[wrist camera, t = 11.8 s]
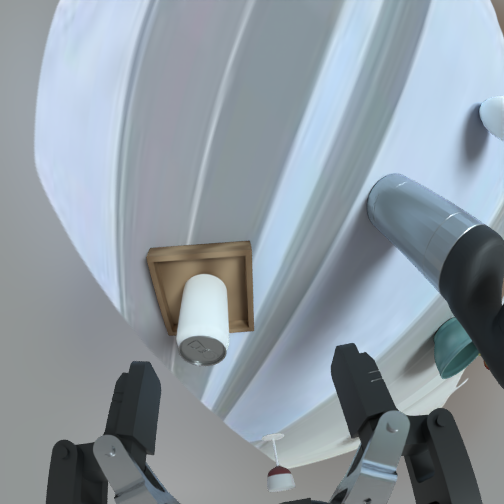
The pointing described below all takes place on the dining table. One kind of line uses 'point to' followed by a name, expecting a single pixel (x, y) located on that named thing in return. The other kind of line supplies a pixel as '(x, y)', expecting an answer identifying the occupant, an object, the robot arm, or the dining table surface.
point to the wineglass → (278, 470)
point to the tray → (204, 262)
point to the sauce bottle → (493, 116)
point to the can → (203, 321)
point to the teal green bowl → (453, 349)
